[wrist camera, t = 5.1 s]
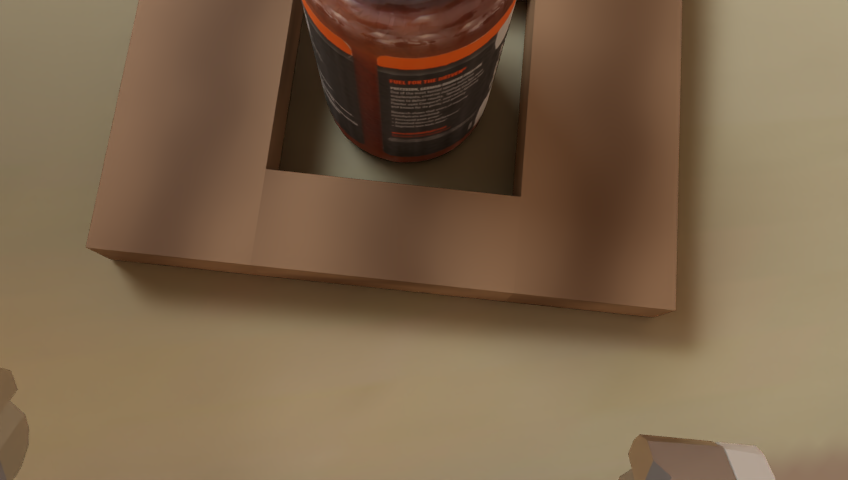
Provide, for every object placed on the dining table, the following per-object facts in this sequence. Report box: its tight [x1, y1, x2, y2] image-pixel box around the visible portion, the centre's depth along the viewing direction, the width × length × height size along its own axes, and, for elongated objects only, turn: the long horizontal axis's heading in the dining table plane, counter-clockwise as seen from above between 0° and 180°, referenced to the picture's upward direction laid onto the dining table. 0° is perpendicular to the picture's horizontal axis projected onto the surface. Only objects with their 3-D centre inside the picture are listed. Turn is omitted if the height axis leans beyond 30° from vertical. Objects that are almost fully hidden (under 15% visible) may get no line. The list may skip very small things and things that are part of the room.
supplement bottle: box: [301, 0, 516, 162], centre depth 20 cm, size 6×6×11 cm
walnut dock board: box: [86, 0, 682, 317], centre depth 25 cm, size 19×15×2 cm
